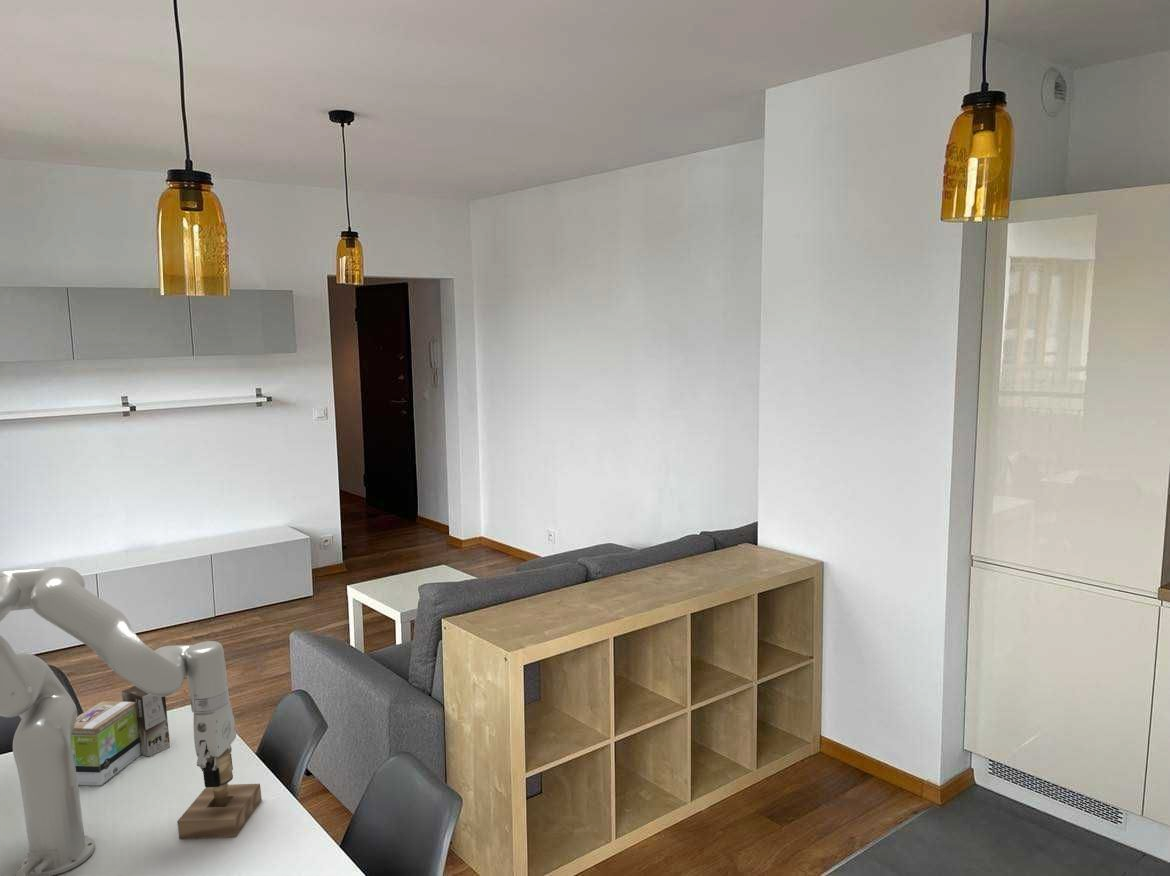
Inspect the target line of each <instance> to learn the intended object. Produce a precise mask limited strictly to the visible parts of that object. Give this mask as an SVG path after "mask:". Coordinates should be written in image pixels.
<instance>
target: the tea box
mask: <svg viewBox="0 0 1170 876" xmlns="http://www.w3.org/2000/svg"><path fill="white" fill-rule="evenodd" d="M71 747H72V752H73V756H74V761H75V767H76V774H77V780H78V786H90V787H91V786H97V787H99V786H103V785H104V784H105V783H106V782H108V781H109V780H110V779H111V778H113V777H114V776H115V775H117V774H119V773H120V771H122V770H123V769H124V768H126V767H127V766H128V765H130V764H131V763H132V762H134V761H135V760H136V759H139V757H141V755H142V754H141V753H140V742H139V731H138V720H137V709H136V702H123V701H108V700H107V701H103V700H101V701H99V702H98V703H96V704H95V705H93V706H92V707H90V708H89V709H87V710H85V711H84V712H82V713H81V714H79V715H77V719H76V722H75V725H74V728H73V731H72V734H71Z"/></svg>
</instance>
